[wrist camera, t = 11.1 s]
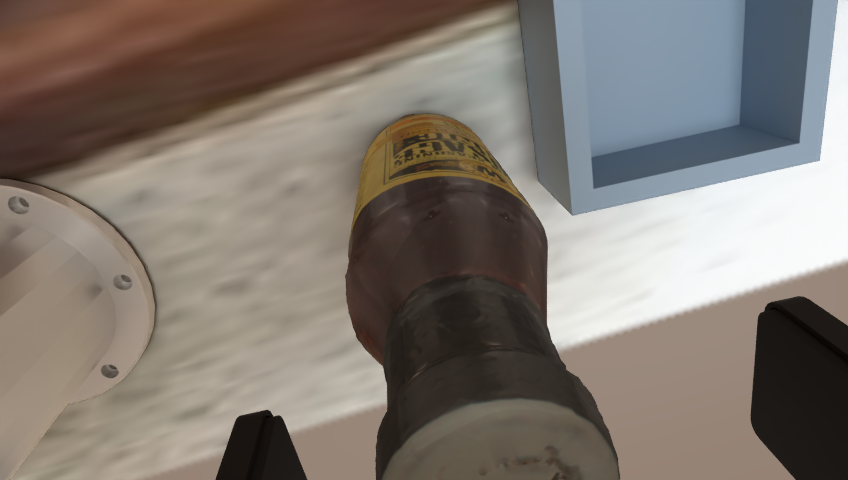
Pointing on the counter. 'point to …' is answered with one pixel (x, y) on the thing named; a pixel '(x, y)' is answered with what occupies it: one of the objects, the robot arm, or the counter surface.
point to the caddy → (672, 93)
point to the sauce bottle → (462, 317)
